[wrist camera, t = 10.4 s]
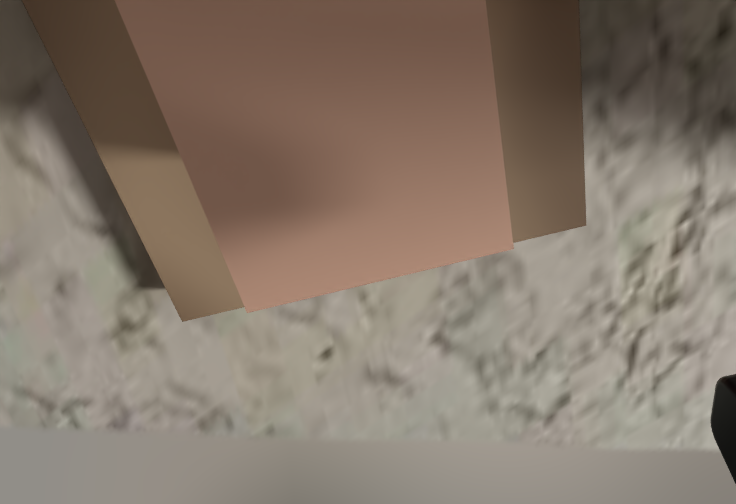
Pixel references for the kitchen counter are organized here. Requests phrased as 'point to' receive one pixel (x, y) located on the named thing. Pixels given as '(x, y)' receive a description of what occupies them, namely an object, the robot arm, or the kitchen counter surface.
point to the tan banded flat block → (177, 194)
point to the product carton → (331, 134)
